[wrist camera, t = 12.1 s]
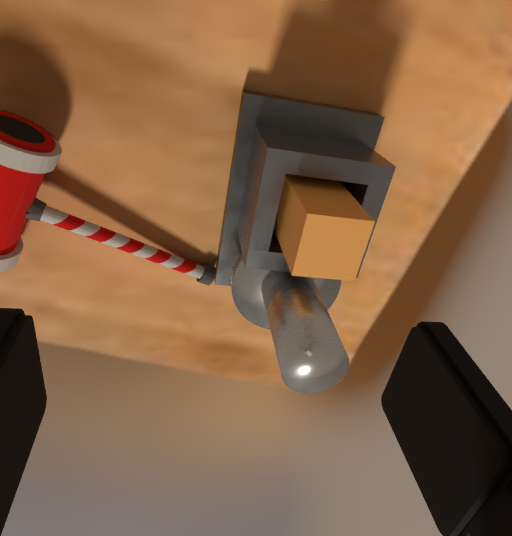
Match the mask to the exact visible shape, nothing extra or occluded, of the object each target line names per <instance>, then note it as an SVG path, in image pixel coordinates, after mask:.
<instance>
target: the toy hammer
mask: <svg viewBox="0 0 512 536" xmlns="http://www.w3.org/2000/svg"><path fill="white" fill-rule="evenodd" d="M61 152H62V148H61V146H60V144H59V143H58V141H57V140H56V139H55V138H54V137H52V136H51V135H50V134H49V133H48V132H47V131H45V130H44V129H42V128H41V127H39V126H38V125H36V124H34V123H33V122H31V121H29V120H27V119H24V118H22V117H20V116H17V115H14V114H12V113H8V112H5V111H1V110H0V273H1V272H5V271H8V270H10V269H11V268H13V267H14V266H15V265H16V263H17V261H18V259H19V256H20V254H21V252H22V249H23V241H22V239H21V237H20V236H21V233H22V230H23V228H24V225H25V223H26V220H27V219H32V220H36V221H40V220H42V221H44V222H47V223H50V224H53V225H55V226H58V227H61V228H64V229H66V230H69V231H72V232H74V233H77V234H80V235H82V236H85V237H88V238H91V239H93V240H96V241H99V242H101V243H104V244H107V245H109V246H112V247H115V248H118V249H120V250H123V251H126V252H128V253H131V254H134V255H136V256H139V257H142V258H145V259H147V260H150V261H153V262H155V263H158V264H161V265H163V266H166V267H169V268H172V269H174V270H177V271H180V272H182V273H185V274H188V275H190V276H193V277H196V278H197V281H198V282H200V283H203V284H206V285H210V284H211V283H212V282H213V280H214V278H215V275H216V268H215V267H212V266H210V265H207V264H203V265H202V266H201V265H199V264H196V263H193V262H191V261H188V260H186V259H183V258H180V257H178V256H175V255H173V254H170V253H168V252H165V251H162V250H160V249H157V248H155V247H152V246H149V245H147V244H144V243H142V242H139V241H137V240H134V239H131V238H129V237H126V236H124V235H121V234H119V233H116V232H113V231H111V230H108V229H106V228H103V227H100V226H98V225H95V224H93V223H90V222H88V221H85V220H82V219H80V218H77V217H75V216H72V215H69V214H67V213H64V212H62V211H59V210H57V209H54V208H52V207H49V206H47V204H46V203H44V202H42V201H41V200H39V199H37V198H36V195H37V192H38V190H39V187H40V185H41V182H42V180H43V177H44V175H45V173H49V172H51V171H53V170H54V169H55V167H56V164H57V162H58V159H59V157H60V155H61Z"/></svg>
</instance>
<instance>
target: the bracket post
mask: <svg viewBox="0 0 512 536" xmlns="http://www.w3.org/2000/svg"><path fill="white" fill-rule="evenodd" d="M383 120H384V117H383V116H381V115H379V114H377V113H371V112H365V111H360V110H354V109H348V108H342V107H337V106H331V105H325V104H319V103H314V102H308V101H302V100H297V99H291V98H285V97H279V96H274V95H268V94H262V93H257V92H251V91H245V90H242V97H241V104H240V110H239V117H238V124H237V130H236V137H235V143H234V150H233V157H232V163H231V170H230V177H229V183H228V190H227V197H226V203H225V210H224V216H223V223H222V230H221V236H220V243H219V250H218V256H217V263H216V275H215V285H227V286H231V288H232V295H233V299H234V302H235V305H236V307H237V309H238V310H239V312H240V313H241V314H242V315H243V316H244V317H245V318H246V319H247V320H248V321H250V322H251V323H253V324H255V325H257V326H260V327H262V328H266V329H270V330H271V334H272V338H273V342H274V347H275V351H276V355H277V359H278V363H279V367H280V371H281V375H282V379H283V381H284V383H285V384H286V385H287V386H288V387H289V388H290V389H292V390H294V391H296V392H299V393H307V394H311V393H318V392H322V391H325V390H328V389H330V388H332V387H333V386H335V385H336V384H338V383H339V382H340V381H341V380H342V379H343V378H344V376H345V375H346V373H347V371H348V368H349V358H348V355H347V353H346V351H345V349H344V347H343V344H342V342H341V340H340V338H339V335H338V333H337V331H336V329H335V327H334V324H333V322H332V320H331V318H330V316H329V313H328V311H327V310H328V309H329V308H330V307H331V305H332V304H333V302H334V301H335V299H336V297H337V295H338V292H339V289H340V285H341V280H336V279H325V278H313V277H302V276H292V275H291V272H290V270H289V267H288V264H287V262H286V259H285V257H284V254H283V251H282V249H281V246H280V243H279V241H278V238H277V235H276V233H275V230H274V225H275V220H276V215H277V211H278V206H279V202H280V197H281V192H282V188H283V183H284V179H285V174H292V175H300V176H307V177H314V178H321V179H329V180H336V181H340V182H341V183H342V184H343V185H344V187H345V188H346V189H347V190H348V191H349V192H350V193H351V195H352V196H353V197H354V198H355V199H356V200H357V201H358V203H359V204H360V205H361V206H362V207H363V208H364V209H365V210H366V212H367V213H368V214H369V215H370V216H371V217H372V218H373V220H374V221H375V223H374V226H373V229H372V232H371V235H370V238H369V241H368V244H367V247H366V250H365V253H364V255H363V258H362V261H361V264H360V267H359V270H358V273H357V276H356V278H357V277H358V274H359V271H360V268H361V265H362V263H363V260H364V257H365V254H366V251H367V248H368V245H369V242H370V240H371V237H372V234H373V231H374V228H375V225H376V222H377V219H378V217H379V214H380V211H381V208H382V205H383V202H384V199H385V196H386V193H387V191H388V188H389V185H390V182H391V179H392V176H393V173H394V170H395V168H396V166H394V165H393V164H392V163H390V162H389V161H388V160H386V159H385V158H384V157H382V156H381V155H380V154H378V153H377V152H376V151H374V149H375V145H376V142H377V139H378V136H379V133H380V130H381V126H382V123H383Z"/></svg>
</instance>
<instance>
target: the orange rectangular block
mask: <svg viewBox="0 0 512 536" xmlns="http://www.w3.org/2000/svg"><path fill="white" fill-rule="evenodd" d="M374 223H375V221H374V220H373V218H372V217H371V216H370V215H369V214H368V213H367V212H366V210H365V209H364V208H363V207H362V206H361V205H360V204H359V203H358V201H357V200H356V199H355V198H354V197H353V196H352V195H351V193H350V192H349V191H348V190H347V189H346V188H345V187H344V185H343V184H342V183H341V182H340V181H336V180H329V179H321V178H314V177H307V176H300V175H292V174H285V179H284V183H283V188H282V192H281V197H280V202H279V206H278V211H277V215H276V220H275V225H274V230H275V233H276V235H277V238H278V241H279V243H280V246H281V249H282V251H283V254H284V257H285V259H286V262H287V264H288V267H289V270H290V272H291V275H292V276H302V277H313V278H325V279H336V280H347V281H355V279H356V276H357V273H358V270H359V267H360V264H361V261H362V258H363V255H364V253H365V250H366V247H367V244H368V241H369V238H370V235H371V232H372V229H373V226H374Z"/></svg>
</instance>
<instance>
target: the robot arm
mask: <svg viewBox="0 0 512 536" xmlns="http://www.w3.org/2000/svg"><path fill="white" fill-rule="evenodd" d="M46 400H47V397H46V390H45V385H44V379H43V373H42V367H41V362H40V356H39V350H38V345H37V339H36V333H35V328H34V322H33V318H32V316H29V315H25V314H24V311H23V310H22V309H12V308H0V536H1V533H2V531H3V528H4V525H5V522H6V519H7V517H8V514H9V511H10V508H11V505H12V502H13V499H14V497H15V494H16V491H17V488H18V486H19V483H20V480H21V477H22V474H23V471H24V469H25V466H26V463H27V460H28V457H29V455H30V452H31V448H32V446H33V443H34V440H35V438H36V434H37V432H38V429H39V426H40V423H41V420H42V417H43V415H44V412H45V408H46ZM381 401H382V407H383V410H384V412H385V414H386V417H387V419H388V421H389V423H390V425H391V427H392V430H393V432H394V434H395V436H396V438H397V440H398V443H399V445H400V447H401V449H402V451H403V454H404V456H405V458H406V460H407V462H408V464H409V467H410V469H411V471H412V473H413V475H414V477H415V480H416V482H417V484H418V486H419V488H420V490H421V493H422V495H423V497H424V499H425V501H426V503H427V506H428V508H429V510H430V512H431V514H432V516H433V519H434V521H435V523H436V525H437V528H438V529H439V531H440V533H441V534H442V535H443V536H512V410H511V409H510V408H509V407H508V405H507V404H506V403H505V401H504V400H503V399H502V397H501V396H500V395H499V393H498V392H497V391H496V390H495V388H494V387H493V386H492V384H491V383H490V382H489V380H488V379H487V378H486V376H485V375H484V374H483V373H482V371H481V370H480V369H479V367H478V366H477V365H476V363H475V362H474V361H473V360H472V358H471V357H470V356H469V354H468V353H467V352H466V350H465V349H464V348H463V346H462V345H461V344H460V343H459V341H458V340H457V339H456V337H455V336H454V335H453V333H452V332H451V331H450V330H449V328H448V327H447V326H446V325H445V324H444V323H442V322H420V323H419V324H417V326H416V327H413V328H412V329H411V331H410V333H409V335H408V337H407V340H406V342H405V344H404V347H403V349H402V351H401V353H400V356H399V358H398V360H397V362H396V365H395V367H394V369H393V371H392V374H391V376H390V378H389V381H388V383H387V386H386V388H385V390H384V392H383V394H382V400H381Z"/></svg>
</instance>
